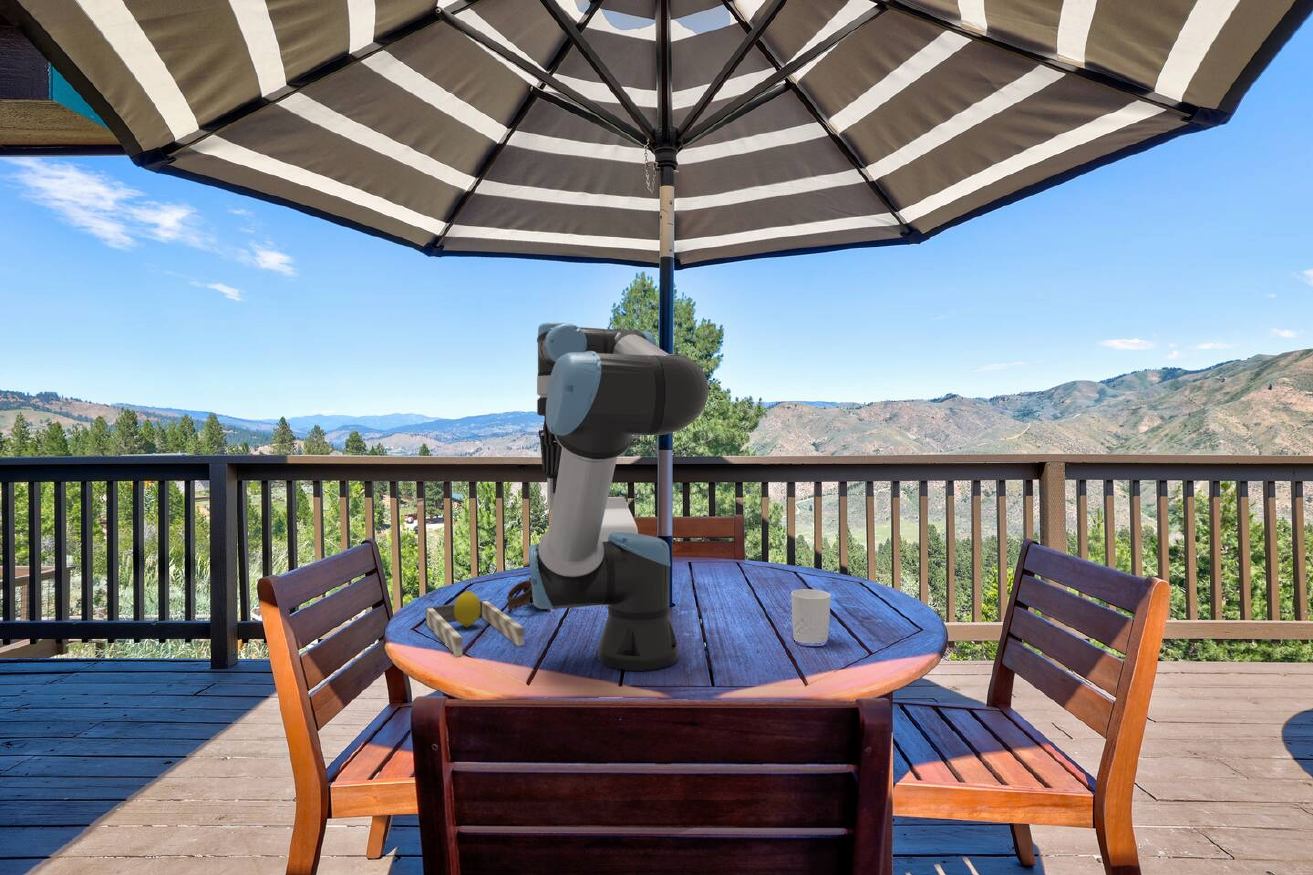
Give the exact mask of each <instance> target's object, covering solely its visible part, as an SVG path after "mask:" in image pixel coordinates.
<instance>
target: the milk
mask: <svg viewBox="0 0 1313 875" xmlns="http://www.w3.org/2000/svg"><path fill="white" fill-rule="evenodd" d="M615 532H616V533H617V532H625V533H635V534H639V529H638V526H637V523H636V521H635V518H634V517H633V514H632V512H631V510H630V508H629V505H628V503H627V500H626V497H624V496H615V497H613V496H612V497H611V496H608V500H607V504H606V509H605V513H604V518H603V522H602V527H601V531H600V535H599V538H600V539H601V541H602V542H607V541H608V537H609V534H610V533H615ZM593 607H608V606H607V605H597V606H593Z"/></svg>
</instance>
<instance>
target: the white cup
mask: <svg viewBox="0 0 1313 875" xmlns="http://www.w3.org/2000/svg"><path fill="white" fill-rule="evenodd" d="M790 597H791V598H790V599H791V621H792V622H791V623H792V629H793V631H792V633H793V638H794V640H795V641H798V642H802V643H812V644H814V643H822V642H825V641H827V640H829V639H828V638H829V628H830V617H831V599H832V598H831V597H832V596H831V593H829V592H827V591H824V590H819V589H808V588H805V589H804V588H803V589H796V590H792V591H791V593H790ZM793 638H792V639H793ZM794 640H793V641H794Z"/></svg>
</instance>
